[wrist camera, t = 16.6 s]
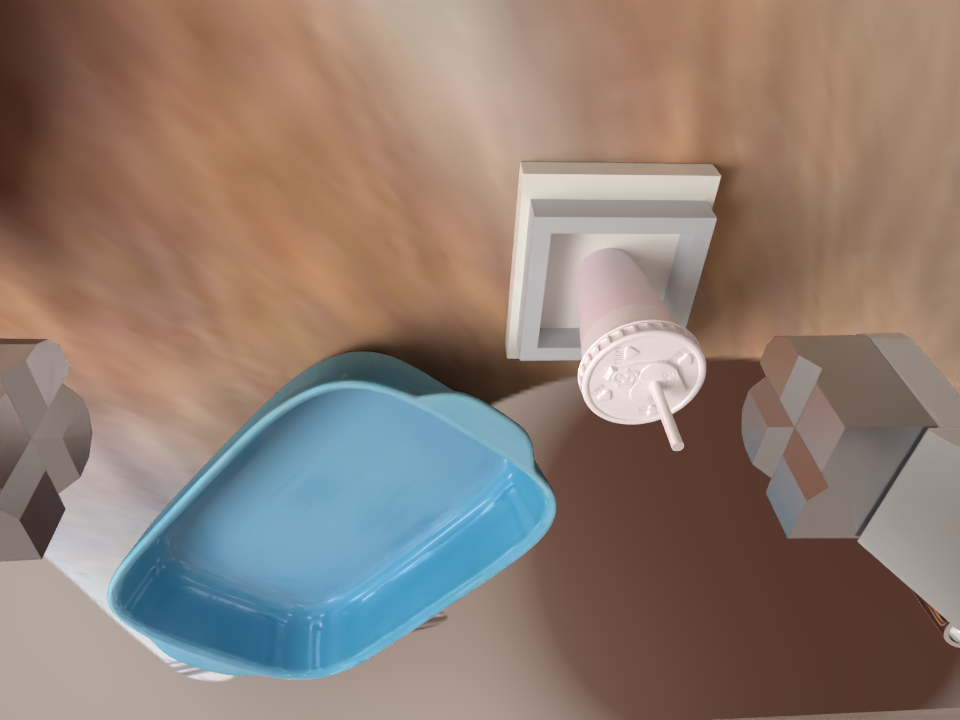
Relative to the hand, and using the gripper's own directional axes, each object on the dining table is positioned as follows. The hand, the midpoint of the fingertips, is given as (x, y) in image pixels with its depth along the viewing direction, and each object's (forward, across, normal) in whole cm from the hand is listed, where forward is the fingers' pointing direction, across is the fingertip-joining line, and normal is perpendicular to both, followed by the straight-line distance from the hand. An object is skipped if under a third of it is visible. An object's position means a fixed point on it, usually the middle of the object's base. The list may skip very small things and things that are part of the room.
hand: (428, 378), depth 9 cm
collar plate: (+31, -11, +18) cm, 38 cm away
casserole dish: (+32, +7, +39) cm, 51 cm away
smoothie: (+30, -11, +18) cm, 36 cm away
